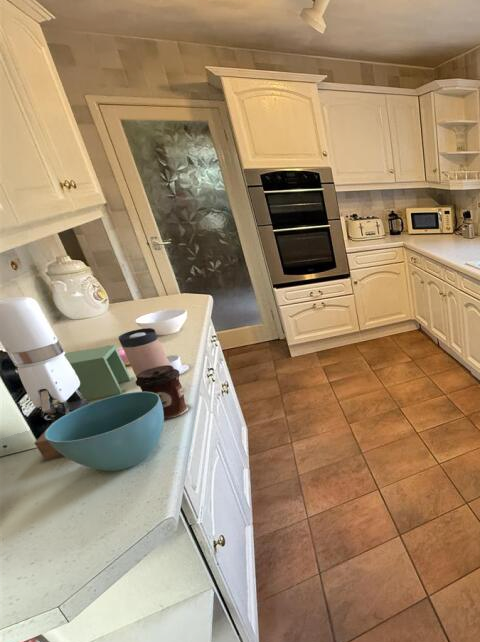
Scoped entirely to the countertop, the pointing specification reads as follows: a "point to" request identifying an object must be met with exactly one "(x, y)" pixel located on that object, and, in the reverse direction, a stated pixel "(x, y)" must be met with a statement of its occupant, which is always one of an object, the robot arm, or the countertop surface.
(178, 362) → the teacup
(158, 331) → the bowl
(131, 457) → the blue dish
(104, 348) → the high shelf
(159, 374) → the coffee cup
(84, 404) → the black block
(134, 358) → the travel mug
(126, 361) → the doughnut
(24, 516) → the countertop surface
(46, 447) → the low shelf
